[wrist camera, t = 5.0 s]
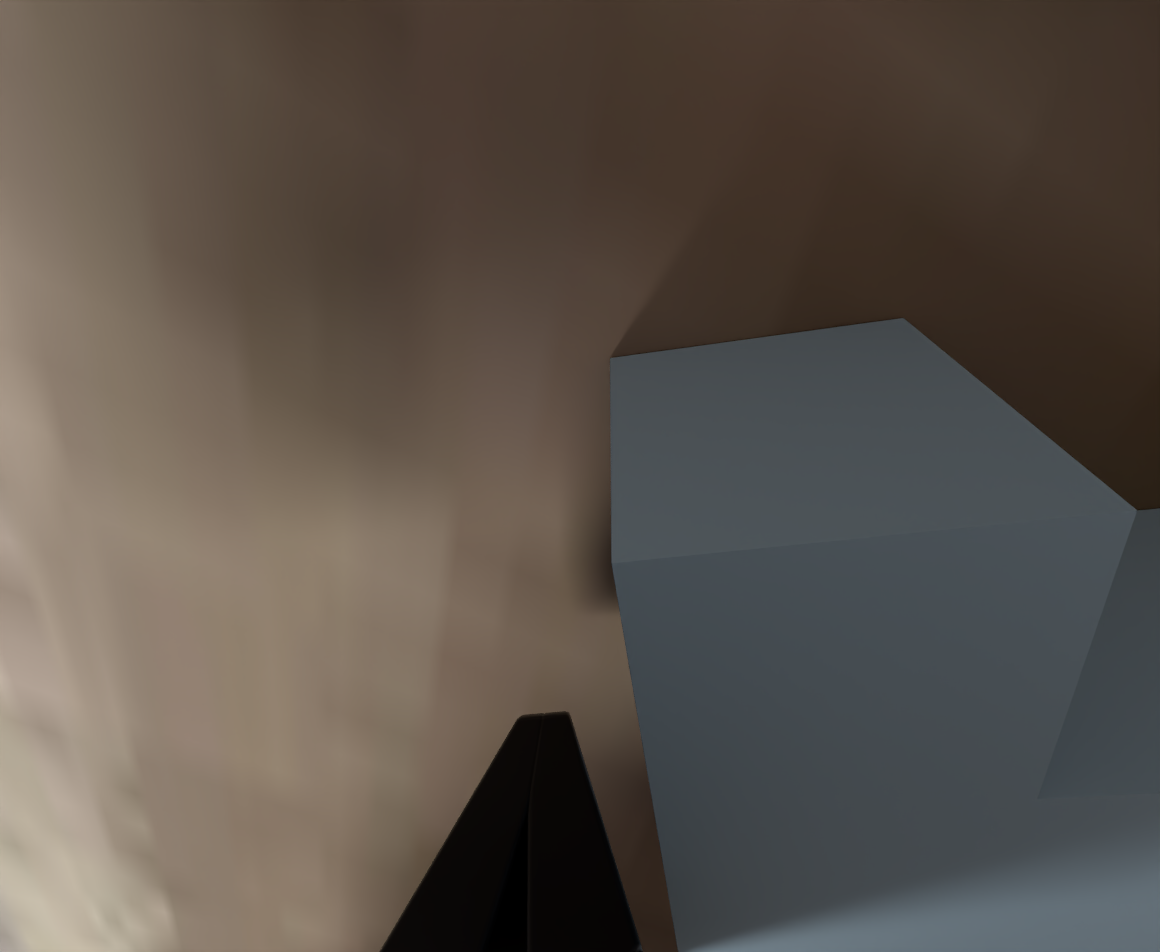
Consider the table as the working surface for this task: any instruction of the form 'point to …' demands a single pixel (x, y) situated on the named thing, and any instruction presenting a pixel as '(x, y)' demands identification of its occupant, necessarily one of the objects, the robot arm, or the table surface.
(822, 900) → the t block
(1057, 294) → the table surface
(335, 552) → the table surface
